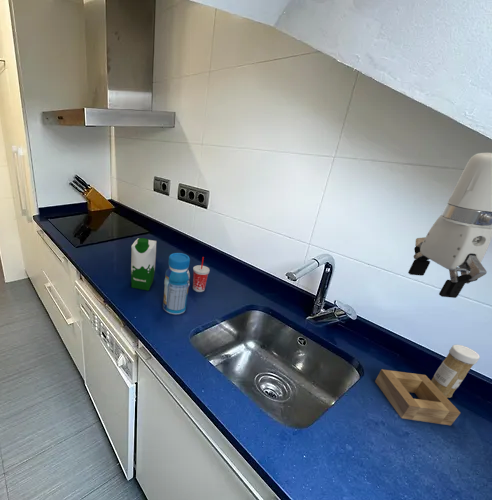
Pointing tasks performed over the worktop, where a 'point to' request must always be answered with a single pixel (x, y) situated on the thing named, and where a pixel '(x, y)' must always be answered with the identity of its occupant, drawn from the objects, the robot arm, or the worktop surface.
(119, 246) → the worktop surface
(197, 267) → the beverage cup
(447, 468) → the worktop surface
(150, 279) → the milk carton
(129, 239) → the worktop surface
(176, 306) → the beverage bottle
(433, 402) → the frame
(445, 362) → the sprinkles bottle
